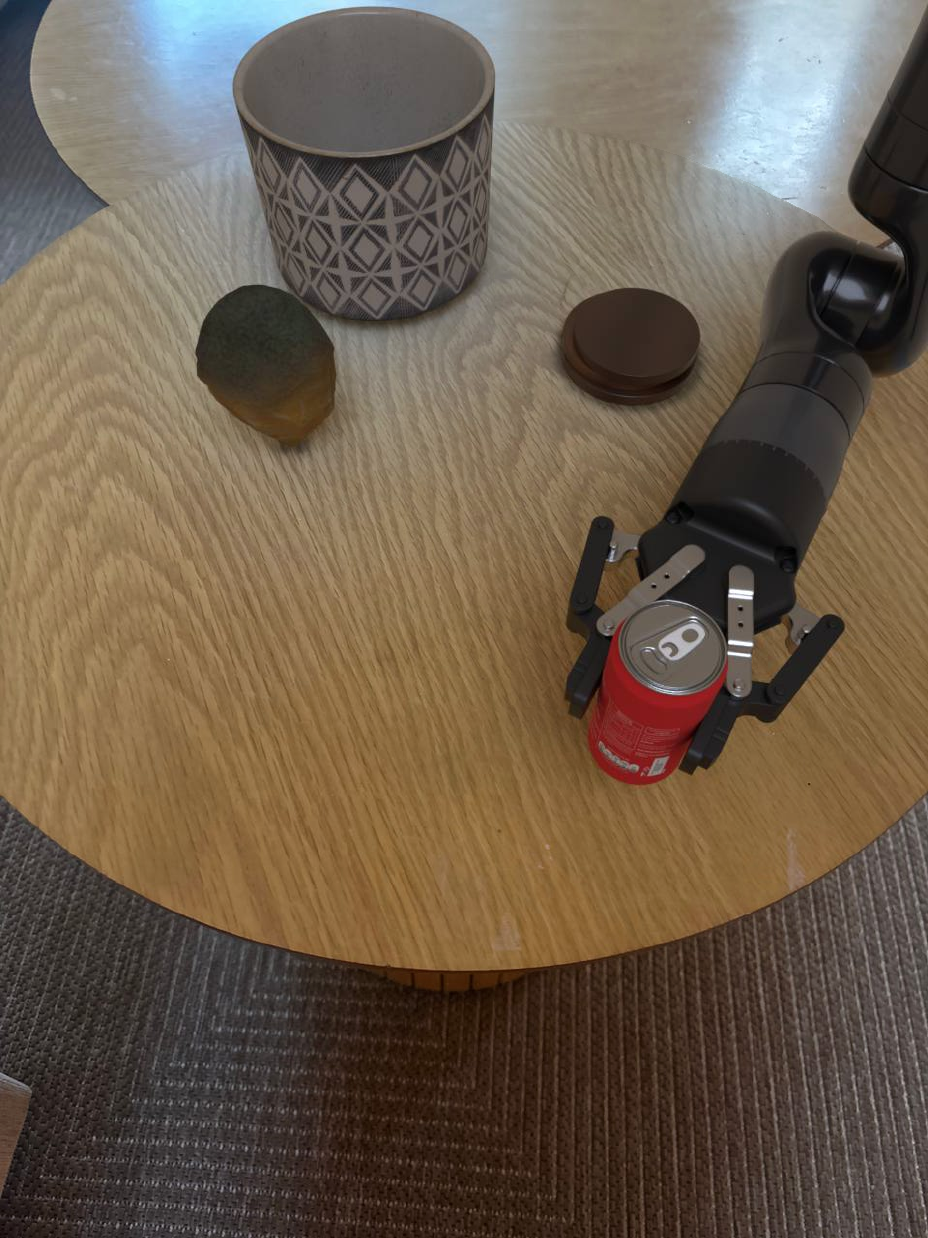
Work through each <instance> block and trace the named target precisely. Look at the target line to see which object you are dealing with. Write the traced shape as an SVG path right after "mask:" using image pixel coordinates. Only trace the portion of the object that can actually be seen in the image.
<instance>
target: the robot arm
mask: <svg viewBox="0 0 928 1238" xmlns="http://www.w3.org/2000/svg"><path fill="white" fill-rule="evenodd" d="M920 18H921V19H920V21H919V23H918V25H917V27H916V30H915V31H914V34H913V37H912V39H911V41H910V42H909V45H908V47H907V50H906V51H905V54H904V56H903V58H902V60H901V62H900V64H899V67H898V68H897V70H896V71H895V72H896V73H895V75H894V77H893V79H892V80H891V83H890V85H889V88H888V90H887V92H886V93H885V96H884V98H883V100H882V102H881V104H880V107H879V108H878V110H877V113H876V115H875V117H874V119H873V122H872V124H871V125H870V127H869V130H868V133H867V134H866V136H865V139H864V141H863V143H862V145H861V148H860V150H859V152H858V153H857V156H856V158H855V161H854V162H853V165H852V167H851V169H850V172H849V177H848V180H847V181H848V182H847V187H846V188H847V189H846V190H847V197H848V199H849V201H850V204H851V205H852V206H853V208H854V209H855V211H856V212H857V213H858V214H859V215H860V216H862V217H863V219H865V220H866V221H867V222H869V223H870V224H871V225H872V226H874V227H875V228H877V229H878V230H879V231H881V233H883V234H885V235H886V236H887V237H888V238H890V239H891V240H892V241H893V242H894V243H895V244H896V245H897V247H899V249H900V250H901V253H902V256H901V255H899V254H896V253H894V252H890V251H888V250H886V249H883V248H880V247H877V246H874V245H872V244H869V243H867V242H864V241H862V240H861V241H858V239H857V238H854V237H850V236H848V235H847V234H843V233H840V232H837V231H831V230H818V231H813V232H809V233H807V234H805V235H803V236H801V237H799V238H797V239H795V240H794V241H793V242H792V243H790V244H789V245H788V246H787V247H786V248H785V249H784V250H783V252H782V253H781V254H780V255H779V257H778V258H777V260H776V262H775V264H774V266H773V268H772V270H771V272H770V274H769V277H768V280H767V282H766V286H765V289H764V290H765V291H764V295H763V301H762V305H761V313H760V323H759V325H760V326H759V335H758V343H757V344H758V345H757V349H756V353H755V356H754V359H753V362H752V364H751V366H750V367H749V369H748V371H747V373H746V376H745V377H744V379H743V381H742V383H741V385H740V387H739V388H738V390H737V392H736V394H735V395H734V397H733V399H732V401H731V403H730V405H729V406H728V407H727V409H726V410H725V412H724V413H723V414H722V415H721V416H720V418H719V419H718V420H717V421H716V422H715V424H714V425H713V426H712V429H711V430H710V432H709V433H708V435H707V437H706V439H705V441H704V442H703V444H702V446H701V448H700V449H699V451H698V453H697V455H696V456H695V458H694V460H693V462H692V464H691V465H690V468H689V469H688V471H687V473H686V474H685V476H684V478H683V480H682V482H681V483H680V485H679V487H678V489H677V491H676V492H675V494H674V496H673V498H672V500H671V501H670V503H669V505H668V507H667V509H666V510H665V512H664V514H663V516H662V518H661V519H660V521H659V522H658V523H656V524H655V525H654V526H652V527H651V528H648V529H647V530H645V531H644V532H643V533H642V534H641V535H640V534H636V533H631V532H627V531H623V530H619V529H615V522H614V521H613V519H611V518H610V517H609V516H605V515H598V516H596V517H595V518H593V519H592V521H591V524H590V527H589V530H588V534H587V537H586V540H585V544H584V548H583V551H582V553H581V554H582V555H581V558H580V562H579V564H578V568H577V572H576V576H575V580H574V582H573V586H572V589H571V593H570V595H569V601H568V606H567V611H566V620H565V626H566V628H567V630H568V631H569V632H571V633H573V634H578V635H579V636H581V638H582V639H583V640H584V642H585V645H584V647H583V649H582V650H581V652H580V654H579V655H578V657H577V659H576V660H575V663H574V664H573V666H572V668H571V670H570V672H569V674H568V675H567V677H566V683H565V687H564V694H563V695H564V697H563V700H564V701H566V702H568V703H569V706H568V712H567V715H569V716H571V717H574V718H576V719H577V720H579V721H582V719H583V718H584V717H585V714H586V713H587V710H588V709H589V707H590V705H591V703H592V701H593V699H594V698H595V695H596V694H597V693H598V691H599V687H600V683H601V679H602V676H603V672H604V668H605V664H606V661H607V657H608V653H609V649H610V645H611V642H612V638H613V635H614V633H615V631H616V629H617V628H618V626H619V625H620V624H621V622H622V621H623V620H624V619H625V618H627V617H628V616H629V615H630V614H631V613H632V612H633V611H635V610H636V609H637V608H639V607H641V606H643V605H645V604H647V603H650V602H654V601H659V600H665V599H669V600H676V601H681V602H685V603H688V604H691V605H693V606H695V607H697V608H699V609H701V610H702V611H704V612H705V613H707V614H708V615H709V616H710V617H711V618H712V619H713V620H714V621H715V622H716V623H717V625H718V626H719V627H720V629H721V631H722V633H723V635H724V638H725V641H726V645H727V653H728V670H727V675H726V678H725V680H724V682H723V684H722V686H721V688H720V690H719V692H718V693H717V695H716V697H715V699H714V701H713V703H712V704H711V706H710V708H709V710H708V712H707V713H706V715H705V716H704V717H703V719H702V721H701V723H700V725H699V727H698V728H697V730H696V732H695V734H694V736H693V738H692V740H691V742H690V744H689V746H688V748H687V750H686V752H685V754H684V756H683V758H682V759H681V761H680V763H679V765H678V768H677V769H678V770H679V771H680V772H683V773H685V774H687V775H690V776H693V775H694V773H695V771H696V770H697V768H698V767H699V768H701V769H702V770H705V771H707V770H708V769H710V768H711V767H712V766H713V765H714V764H715V763H716V762H717V760H718V758H719V757H720V756H721V754H722V752H723V750H724V748H725V745H726V744H727V741H728V739H729V737H730V734H731V732H732V731H733V728H734V725H735V723H736V721H737V719H738V718H740V717H745V716H748V717H754V718H756V720H758V721H759V722H761V723H762V724H763V723H764V724H771V723H773V722H775V721H776V720H777V719H778V718H779V716H780V715H781V714H782V713H783V711H784V710H785V709H786V708H787V706H788V705H789V704H790V703H791V701H792V700H793V698H794V697H795V696H796V694H797V693H798V692H799V691H800V689H802V687H803V686H804V684H805V683H806V682H807V681H808V679H809V678H810V677H811V675H812V674H813V673H814V672H815V670H816V669H817V667H818V666H819V665H820V664H821V662H822V661H823V660H824V659H825V657H826V656H827V655H828V653H829V652H830V651H831V649H832V648H833V647H834V645H835V644H836V643H837V641H838V640H839V639H840V638H841V636H842V634H843V633H844V631H845V629H846V625H845V622H844V620H843V619H842V618H841V617H840V616H838V615H836V614H833V613H826V614H824V615H823V616H821V617H820V616H818V615H817V614H816V613H813V612H812V611H811V610H809V609H807V608H806V607H805V606H804V605H803V606H802V605H801V604H800V603H798V602H797V591H796V586H795V585H796V584H795V582H796V577H797V575H798V572H799V570H800V568H801V566H802V563H803V562H804V559H805V557H806V555H807V552H808V550H809V548H810V546H811V544H812V541H813V539H814V537H815V535H816V532H817V530H818V528H819V526H820V523H821V522H822V519H823V517H824V516H825V514H826V513H827V511H828V506H829V504H830V501H831V499H832V498H833V495H834V493H835V491H836V488H837V486H838V483H839V481H840V478H841V475H842V470H843V468H844V462H845V459H846V455H847V452H848V449H849V447H850V445H851V443H852V440H853V438H854V436H855V434H856V432H857V430H858V427H859V425H860V423H861V421H862V420H863V417H864V414H865V413H866V410H867V408H868V405H869V403H870V401H871V397H872V393H873V389H874V388H873V387H874V380H873V379H884V378H889V377H892V376H894V375H897V374H899V373H901V372H902V371H904V370H906V369H908V368H909V367H911V366H912V365H913V364H915V362H917V360H918V359H920V358H921V356H922V355H923V353H924V352H925V351H926V349H927V348H928V3H927V5H926V7H925V9H924V11H923V14H922V16H921V17H920ZM628 559H633V560H634V563H635V566H636V569H637V574H638V578H639V583H638V584H636V585H635V586H633V587H632V588H631V589H630V590H629V592H628V593H627V594H626V596H625V597H624V598H623V599H622V600H621V601H619V602H618V603H616V605H614V606H613V607H612V608H610V609H609V610H608V611H606V612H605V611H604V610H603V609H602V608H601V607H600V606H599V605H598V604H597V603H596V601H597V597H598V593H599V590H600V587H601V586H600V585H601V582H602V579H603V574H604V572H606V573H611V572H613V571H616V570H618V569H619V568H620V567H621V565H622V563H623V562H624V561H625V560H628ZM780 624H781V625H784V627H785V628H786V631H787V635H786V637H785V639H784V646H785V648H786V650H787V652H788V653H789V654H790V656H789V658H788V659H787V660H786V661H785V663H784V664H783V665H782V666H781V668H780V669H779V670H778V671H777V673H775V675H774V676H773V677H772V679H771V680H770V681H769V682H767V681H757V680H753V674H752V673H753V671H752V670H753V669H752V665H753V664H752V656H753V650H754V646H755V645H754V644H755V636H756V635H758V634H760V633H763V632H765V631H767V630H769V629H771V628H774V627H776V626H779V625H780Z"/></svg>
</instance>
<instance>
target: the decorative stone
mask: <svg viewBox="0 0 928 1238" xmlns="http://www.w3.org/2000/svg"><path fill="white" fill-rule="evenodd" d="M335 350H336V349H335V345H334V343H333V342H332V340H331V338H330V336H329V334H328V333H327V332H326V330H325V329H324V327H323V326H322V324H321V322H320V321H319V320H318V318H317V317H316V316H315V315H314V313H313V312H312V311H311V310H310V309H309V308H308V307H307V306H306V305H305V303H304V304H303V302H302V301H300V299H298V298H297V297H296V296H295V295H294V294H292V293H290V292H288V291H285V290H283V289H281V288H279V287H274V286H270V285H265V284H248V285H241V286H239V287H236V288H235V289H234V290H231V291H230V292H228V293H226V294H225V295H223V296H222V297H221V298H219V299H218V300H217V301H216V302H215V304H214V305H213V306H212V307H211V308H210V309H209V311H208V312H207V313H206V316H204V318H203V320H202V322H201V326H200V330H199V335H198V338H197V344H196V346H195V351H194V354H195V357H196V377H197V378H198V379H199V381H200V382H202V383H203V384H204V385H206V387H207V390H208V392H209V394H210V395H211V396H212V397H213V398H214V400H215V401H216V402H217V403H219V404H220V405H221V406H223V408H225V409H226V410H227V411H228V412H229V413H230V414H231V416H233V417H235V418H236V419H237V420H239V422H241V423H243V424H244V425H246V426H248V427H250V428H252V429H253V430H254V431H257V432H259V433H261V434H264V435H266V436H268V437H270V438H271V439H275V440H278V441H279V442H282V443H284V444H286V445H287V446H290V447H298V446H300V445H301V441H302V440H304V439H305V438H306V437H307V436H309V435H310V434H312V432H313V431H315V430H316V429H318V427H319V426H320V425H321V424H322V423H323V422H324V421H325V420H326V419H327V418H328V417H329V416H330V415H331V414H332V412H333V411H334V410H335V404H336V399H335V397H336V396H335V394H336V393H335V392H336V389H337V388H336V387H337V369H336V364H335V363H336V362H335V355H334V354H335Z"/></svg>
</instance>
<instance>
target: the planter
mask: <svg viewBox="0 0 928 1238" xmlns="http://www.w3.org/2000/svg"><path fill="white" fill-rule="evenodd" d="M232 78H233V79H232V86H231V87H232V90H231V91H232V97H233V101H234V104H235V108H236V112H237V116H238V120H239V124H240V127H241V131H242V135H243V138H244V139H243V140H244V142H245V147H246V149H247V153H248V159H249V161H250V166H251V169H252V173H253V177H254V180H255V181H254V182H255V185H256V188H257V193H258V195H259V199H260V203H261V207H262V212H263V215H264V218H265V222H266V223H265V224H266V226H267V231H268V234H269V237H270V241H271V245H272V248H273V253H274V257H275V261H276V264H277V265H276V266H277V268H278V270H279V273H280V275H281V276H282V279H283V280H284V282H285V283H286V284H287V285H288V287H289V288H290V289H291V290H292V291H293V292H294V294H296V295H297V296H298V297H299V298H300V299H301V300H303V301H305V303H307V304H309V305H310V306H312V307H314V308H316V309H318V310H320V311H322V312H325V313H327V314H330V315H333V316H336V317H338V318H339V317H340V318H344V319H348V320H354V321H362V322H389V321H400V320H405V319H410V318H413V317H417V316H421V315H424V314H427V313H430V312H432V311H435V310H437V309H439V308H441V307H443V306H445V305H447V304H449V303H450V302H451V301H453V300H455V299H456V298H457V297H459V296H460V295H461V294H462V293H464V292H465V291H466V290H467V289H468V288H469V287H470V286H471V285H472V283H474V281H475V280H476V278H477V276H478V275H479V274H480V272H481V270H482V268H483V265H484V263H485V260H486V257H487V251H488V239H489V237H488V236H489V221H490V220H489V219H490V218H489V216H490V197H491V177H492V176H491V175H492V157H493V154H492V153H493V133H494V111H495V93H496V91H495V90H496V69H495V65H494V62H493V59H492V57H491V55H490V53H489V51H488V50H487V49H486V48H485V46H484V44H482V43H481V42H480V41H479V40H478V39H477V37H475V36H474V35H473V34H472V33H470V32H469V31H467V30H466V29H465V28H463V27H461V26H459V25H457V24H456V23H454V22H452V21H449V20H448V19H445V18H443V17H440V16H438V15H435V14H430V13H428V12H424V11H419V10H415V9H409V8H402V7H396V6H395V7H393V6H381V5H380V6H377V5H376V6H374V5H373V6H369V5H367V6H351V7H343V8H336V9H331V10H325V11H321V12H317V13H313V14H310V15H307V16H304V17H300V18H298V19H296V20H293V21H291V22H288V23H285V24H284V25H282V26H280V27H278V28H276V29H274V30H273V31H271V32H269V33H268V34H266V35H265V36H263V37H262V38H260V39H259V40H258V41H256V43H254V45H253V46H252V47H250V48H249V50H248V51H247V52H246V53H244V55H243V57H242V58H241V59H240V61H239V63H238V65H237V67H236V69H235V71H234V75H233V77H232Z"/></svg>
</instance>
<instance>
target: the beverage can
mask: <svg viewBox="0 0 928 1238" xmlns="http://www.w3.org/2000/svg"><path fill="white" fill-rule="evenodd" d="M727 670H728V653H727V645H726V641H725V638H724V635H723V633H722V631H721V629H720V627H719V626H718V625H717V623H716V622H715V621H714V620H713V619H712V618H711V617H710V616H709V615H708V614H707V613H705V612H704V611H702V610H701V609H699V608H697V607H695V606H693V605H691V604H688V603H685V602H681V601H676V600H669V599H665V600H659V601H654V602H650V603H647V604H645V605H643V606H641V607H639V608H637V609H636V610H635V611H633V612H632V613H631V614H630V615H629V616H628V617H627V618H625V619H624V620H623V621H622V622H621V624H620V625H619V626H618V628H617V629H616V631H615V633H614V635H613V638H612V642H611V645H610V649H609V653H608V657H607V661H606V664H605V668H604V672H603V676H602V679H601V683H600V686H599V688H598V690H597V693H596V694H597V695H596V699H595V702H594V706H593V710H592V714H591V718H590V721H589V725H588V728H587V729H588V730H587V744H588V749H589V752H590V754H591V757H592V758H593V760H594V761H595V763H596V764H597V766H598V767H599V768H600V769H601V770H602V771H603V772H604V773H605V774H607V775H608V776H609V777H610V778H612V779H613V780H615V781H616V782H617V781H618V782H620V783H622V784H624V785H632V786H648V785H652V784H656V783H659V782H661V781H663V780H665V779H666V778H668V777H669V776H670V775H671V774H673V773H674V771H675V770H676V769H678V768H677V767H679V766H680V764H681V761H682V759H683V757H684V755H685V753H686V751H687V749H688V746H689V744H690V742H691V740H692V738H693V736H694V734H695V732H696V730H697V728H698V727H699V725H700V723H701V721H702V719H703V717H704V716H705V715H706V713H707V712H708V710H709V708H710V706H711V704H712V703H713V701H714V699H715V697H716V695H717V693H718V692H719V690H720V688H721V686H722V684H723V682H724V680H725V678H726V675H727Z"/></svg>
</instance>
